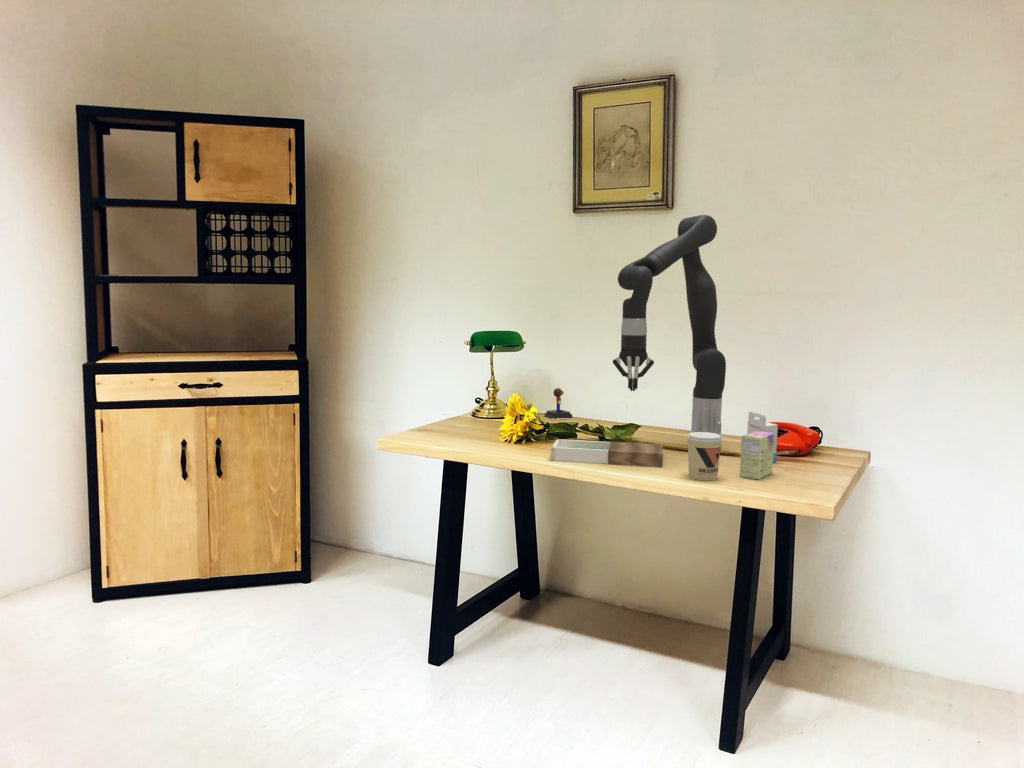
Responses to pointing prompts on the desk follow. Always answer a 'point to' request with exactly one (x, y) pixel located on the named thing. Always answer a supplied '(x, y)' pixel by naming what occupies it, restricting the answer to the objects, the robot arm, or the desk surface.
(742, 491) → the desk surface
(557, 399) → the figurine
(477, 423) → the desk surface
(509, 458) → the desk surface
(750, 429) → the ink box
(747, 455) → the box
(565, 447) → the tray
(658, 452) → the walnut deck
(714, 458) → the coffee cup
